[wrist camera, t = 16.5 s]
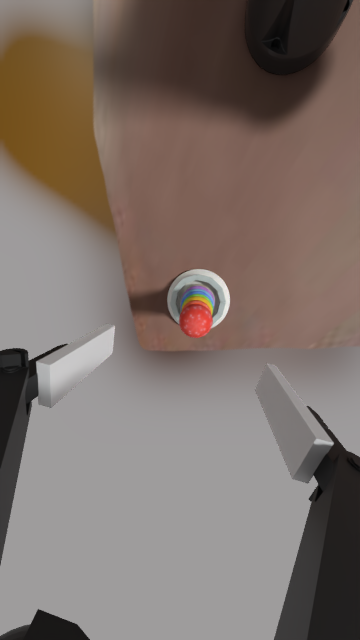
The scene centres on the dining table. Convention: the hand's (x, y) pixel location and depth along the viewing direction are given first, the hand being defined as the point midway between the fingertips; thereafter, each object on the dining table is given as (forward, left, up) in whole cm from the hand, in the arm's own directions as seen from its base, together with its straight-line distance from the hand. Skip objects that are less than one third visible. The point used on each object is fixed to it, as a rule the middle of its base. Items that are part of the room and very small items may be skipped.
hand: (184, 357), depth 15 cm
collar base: (0, 0, -29) cm, 29 cm away
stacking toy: (0, 0, -28) cm, 28 cm away
